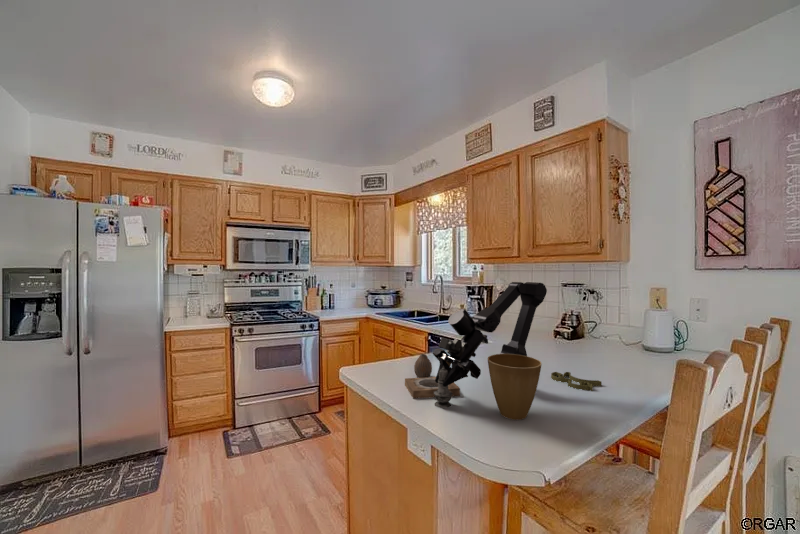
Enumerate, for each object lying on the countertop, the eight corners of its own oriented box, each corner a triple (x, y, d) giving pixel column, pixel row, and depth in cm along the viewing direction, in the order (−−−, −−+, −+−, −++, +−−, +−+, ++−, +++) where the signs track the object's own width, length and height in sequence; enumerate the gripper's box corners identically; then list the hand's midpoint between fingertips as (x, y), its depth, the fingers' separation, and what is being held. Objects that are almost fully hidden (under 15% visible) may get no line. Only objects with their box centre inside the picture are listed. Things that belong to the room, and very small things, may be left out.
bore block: (447, 383, 129) (447, 376, 129) (459, 395, 116) (460, 388, 116) (404, 385, 126) (404, 378, 126) (413, 398, 113) (413, 390, 113)
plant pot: (476, 410, 104) (477, 356, 104) (511, 401, 112) (512, 351, 112) (515, 431, 91) (515, 369, 91) (552, 419, 99) (553, 362, 99)
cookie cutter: (607, 388, 127) (607, 383, 127) (587, 393, 121) (587, 388, 121) (563, 375, 143) (563, 370, 143) (543, 379, 137) (543, 374, 137)
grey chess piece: (452, 409, 105) (452, 369, 105) (432, 407, 106) (433, 367, 106) (453, 402, 111) (453, 364, 111) (434, 400, 112) (435, 362, 112)
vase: (432, 380, 133) (432, 357, 133) (414, 379, 133) (414, 356, 133) (431, 374, 140) (431, 352, 140) (413, 374, 140) (414, 352, 140)
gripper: (437, 324, 119) (408, 360, 113) (473, 333, 102) (442, 376, 97) (455, 345, 122) (428, 381, 117) (493, 357, 106) (464, 400, 101)
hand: (439, 384), depth 108 cm, fingers closed on grey chess piece, 4 cm apart
